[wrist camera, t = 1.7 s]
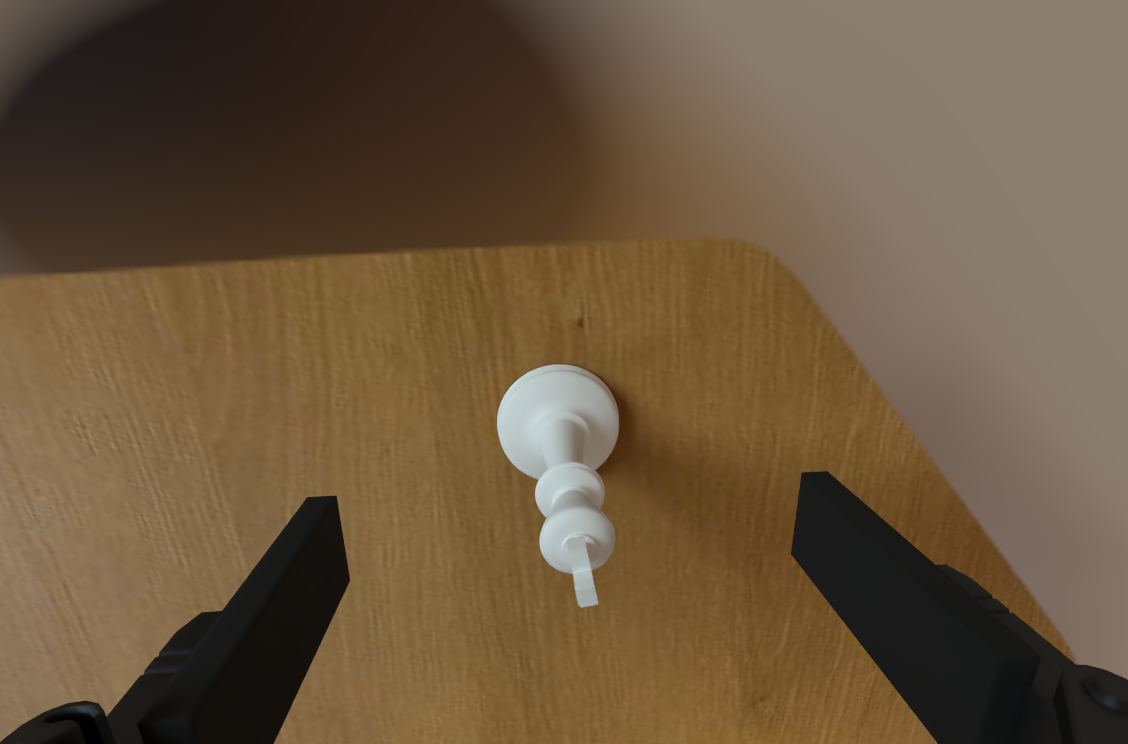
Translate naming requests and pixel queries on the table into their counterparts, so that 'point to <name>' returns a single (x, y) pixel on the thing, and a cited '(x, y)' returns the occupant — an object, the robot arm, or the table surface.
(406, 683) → the table surface
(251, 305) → the table surface
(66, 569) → the table surface
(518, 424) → the chess piece
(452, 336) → the table surface
